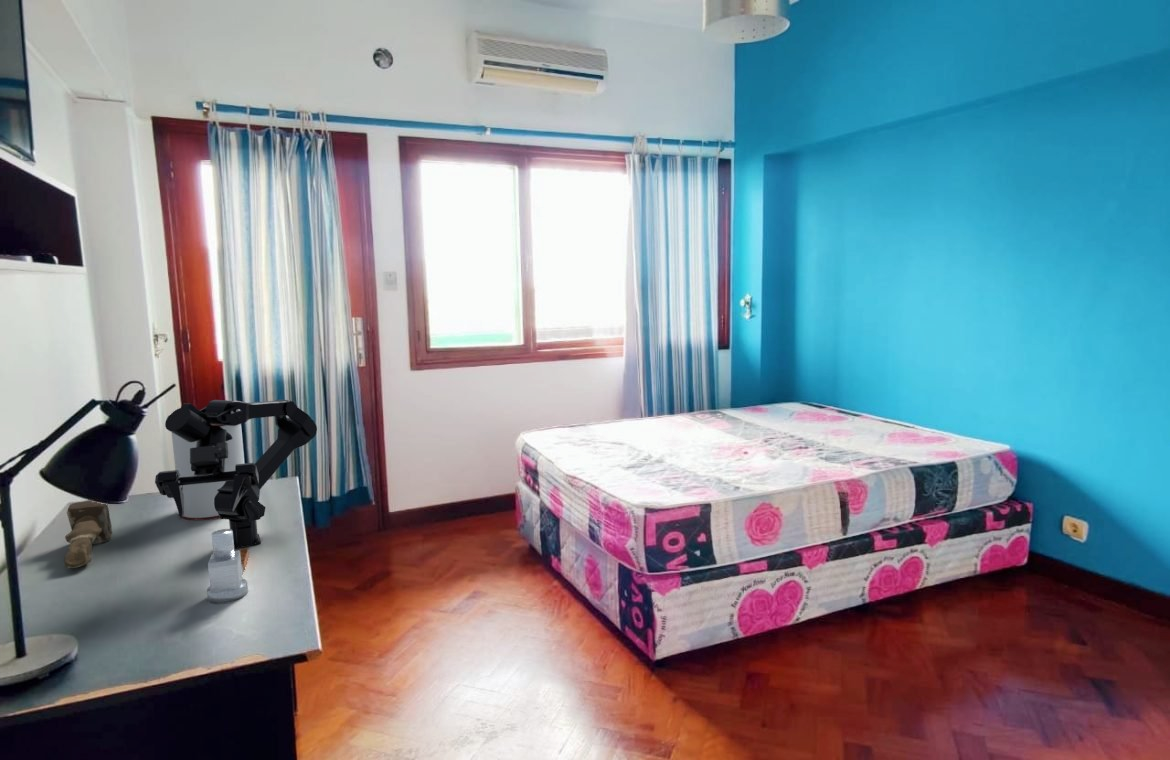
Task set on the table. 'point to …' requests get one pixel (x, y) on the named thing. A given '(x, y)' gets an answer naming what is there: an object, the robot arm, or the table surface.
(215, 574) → the clear square perfume bottle
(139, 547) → the table surface
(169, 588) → the table surface
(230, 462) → the container
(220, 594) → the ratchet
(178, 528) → the table surface
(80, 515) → the brown boot
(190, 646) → the table surface
